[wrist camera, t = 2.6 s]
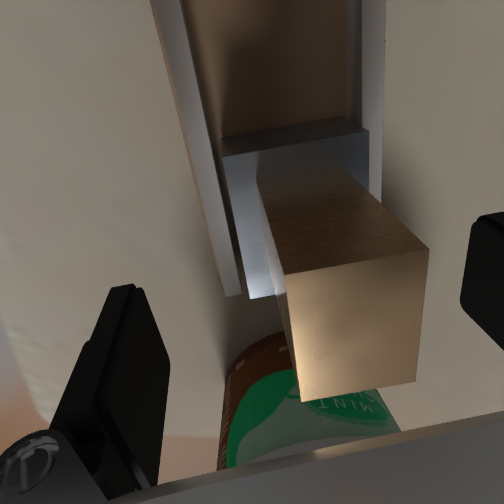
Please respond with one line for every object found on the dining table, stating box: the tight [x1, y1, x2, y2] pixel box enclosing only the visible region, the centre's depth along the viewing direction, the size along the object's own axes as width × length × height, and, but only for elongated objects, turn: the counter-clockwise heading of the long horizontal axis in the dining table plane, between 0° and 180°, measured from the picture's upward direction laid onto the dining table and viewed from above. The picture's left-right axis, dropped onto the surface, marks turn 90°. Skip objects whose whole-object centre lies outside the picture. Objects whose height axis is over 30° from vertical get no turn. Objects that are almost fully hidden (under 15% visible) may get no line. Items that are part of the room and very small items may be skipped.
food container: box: [216, 331, 402, 471], centre depth 19 cm, size 12×6×10 cm, turn 85°
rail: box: [150, 0, 386, 297], centre depth 14 cm, size 8×17×3 cm, turn 9°
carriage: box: [221, 116, 429, 402], centre depth 12 cm, size 5×6×9 cm
